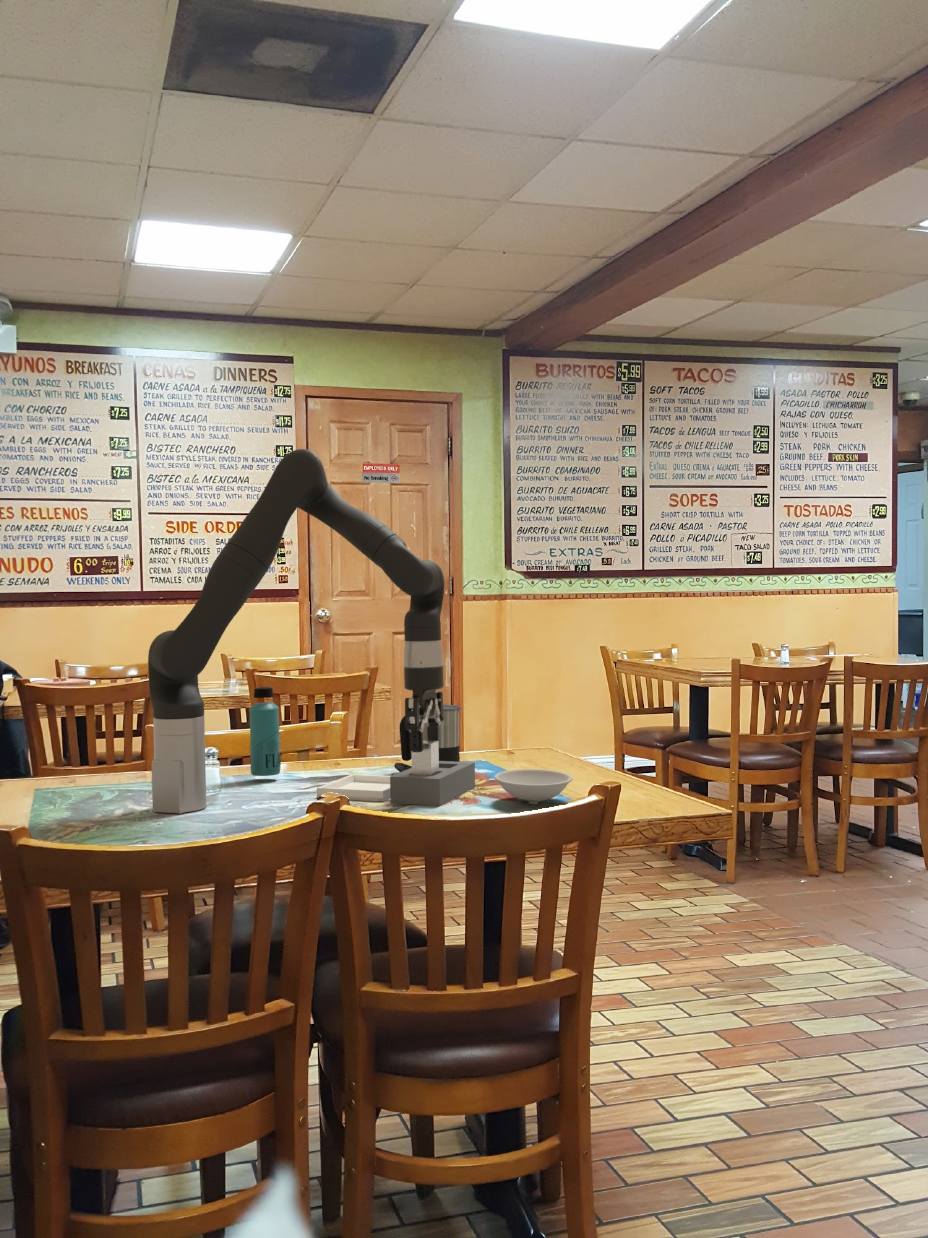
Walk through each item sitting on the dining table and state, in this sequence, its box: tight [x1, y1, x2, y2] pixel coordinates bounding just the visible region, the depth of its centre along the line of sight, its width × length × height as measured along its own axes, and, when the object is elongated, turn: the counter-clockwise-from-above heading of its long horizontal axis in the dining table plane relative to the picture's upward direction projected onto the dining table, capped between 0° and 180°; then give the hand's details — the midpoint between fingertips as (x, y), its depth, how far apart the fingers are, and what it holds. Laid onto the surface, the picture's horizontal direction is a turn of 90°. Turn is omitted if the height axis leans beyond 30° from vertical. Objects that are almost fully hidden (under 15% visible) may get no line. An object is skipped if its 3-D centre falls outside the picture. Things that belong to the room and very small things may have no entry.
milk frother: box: [393, 704, 462, 773], centre depth 231 cm, size 14×16×15 cm
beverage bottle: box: [248, 686, 282, 777], centre depth 229 cm, size 6×7×20 cm
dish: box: [493, 768, 574, 805], centre depth 200 cm, size 18×14×5 cm
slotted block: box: [389, 761, 476, 807], centre depth 210 cm, size 20×10×5 cm, turn 160°
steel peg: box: [411, 740, 439, 776], centre depth 205 cm, size 4×4×11 cm
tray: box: [316, 773, 392, 802], centre depth 214 cm, size 16×14×2 cm
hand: (425, 748), depth 206 cm, fingers open, 8 cm apart
